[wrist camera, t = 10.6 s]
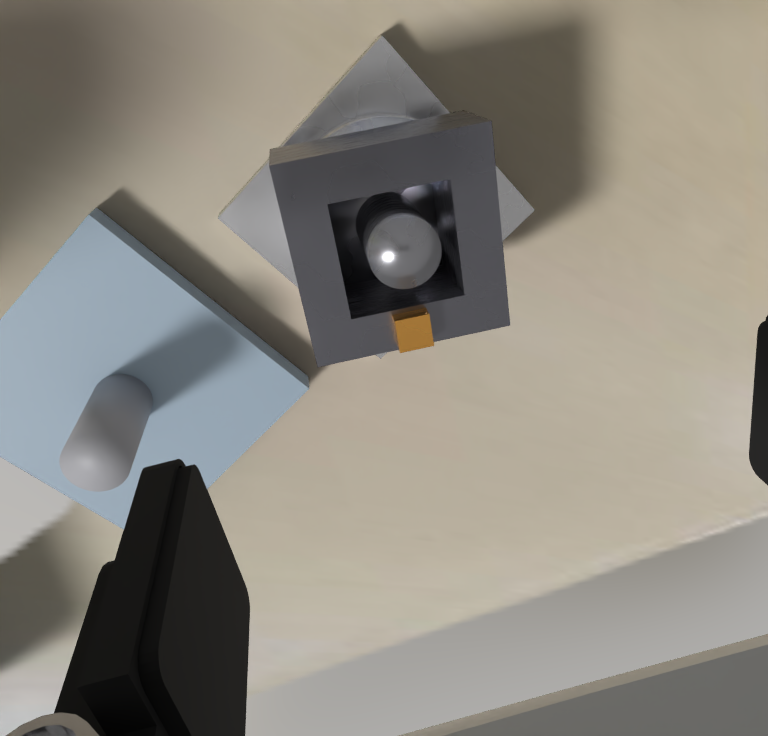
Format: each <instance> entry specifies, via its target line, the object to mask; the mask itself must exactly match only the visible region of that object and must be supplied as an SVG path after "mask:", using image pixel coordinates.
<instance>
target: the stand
mask: <svg viewBox="0 0 768 736" xmlns="http://www.w3.org/2000/svg"><path fill="white" fill-rule="evenodd" d="M308 389H309V381H308V376H307V375H306V374H304V373H303V372H302V371H301V370H299V369H298V368H297V367H296V366H294V365H293V364H292V363H291V362H289V361H288V360H287V359H286V358H284V357H283V356H282V355H281V354H279V353H278V352H277V351H276V350H274V349H273V348H272V347H271V346H269V345H268V344H267V343H266V342H264V341H263V340H262V339H261V338H259V337H258V336H257V335H256V334H254V333H253V332H252V331H251V330H249V329H248V328H247V327H246V326H244V325H243V324H242V323H241V322H239V321H238V320H237V319H236V318H234V317H233V316H232V315H231V314H229V313H228V312H227V311H226V310H224V309H223V308H222V307H221V306H219V305H218V304H217V303H216V302H214V301H213V300H212V299H211V298H209V297H208V296H207V295H206V294H204V293H203V292H202V291H201V290H199V289H198V288H197V287H196V286H194V285H193V284H192V283H191V282H189V281H188V280H187V279H186V278H184V277H183V276H182V275H181V274H179V273H178V272H177V271H176V270H174V269H173V268H172V267H171V266H169V265H168V264H167V263H166V262H164V261H163V260H162V259H161V258H159V257H158V256H157V255H156V254H154V253H153V252H152V251H151V250H149V249H148V248H147V247H146V246H144V245H143V244H142V243H140V242H139V241H138V240H137V239H135V238H134V237H133V236H132V235H130V234H129V233H128V232H127V231H125V230H124V229H123V228H122V227H120V226H119V225H118V224H117V223H115V222H114V221H113V220H112V219H110V218H109V217H108V216H107V215H105V214H104V213H103V212H102V211H100V210H99V209H98V208H97V207H96V208H95V209H94V210H93V211H92V212H91V213H90V214H89V215H88V216H87V217H86V218H85V220H84V221H83V222H82V223H81V224H80V225H79V227H78V228H77V229H76V230H75V231H74V233H73V234H72V235H71V236H70V237H69V239H68V240H67V241H66V242H65V243H64V244H63V246H62V247H61V248H60V249H59V250H58V252H57V253H56V254H55V255H54V256H53V258H52V259H51V260H50V261H49V262H48V264H47V265H46V266H45V267H44V268H43V269H42V271H41V272H40V273H39V274H38V275H37V277H36V278H35V279H34V280H33V281H32V283H31V284H30V285H29V286H28V287H27V288H26V290H25V291H24V292H23V293H22V294H21V296H20V297H19V298H18V299H17V300H16V302H15V303H14V304H13V305H12V306H11V308H10V309H9V310H8V311H7V312H6V313H5V315H4V316H3V317H2V318H1V319H0V457H1V458H3V459H5V460H7V461H8V462H10V463H11V464H13V465H15V466H17V467H18V468H20V469H22V470H24V471H25V472H27V473H28V474H30V475H32V476H34V477H35V478H37V479H39V480H41V481H42V482H44V483H46V484H47V485H49V486H51V487H52V488H54V489H56V490H58V491H59V492H61V493H63V494H64V495H66V496H68V497H69V498H71V499H73V500H74V501H76V502H78V503H80V504H81V505H83V506H85V507H86V508H88V509H90V510H91V511H93V512H95V513H97V514H98V515H100V516H102V517H103V518H105V519H107V520H109V521H110V522H112V523H114V524H115V525H117V526H119V527H120V528H122V529H124V528H125V524H126V521H127V518H128V514H129V511H130V508H131V504H132V501H133V498H134V494H135V491H136V488H137V484H138V481H139V478H140V474H141V472H142V470H143V468H145V467H148V466H152V465H156V464H160V463H164V462H168V461H172V460H176V459H181V460H182V461H183V462H184V464H185V465H186V466H189V465H193V464H195V465H196V466H197V467H198V469H199V471H200V473H201V476H202V478H203V481H204V483H205V486H206V488H209V487H210V486H211V485H212V484H213V483H214V482H215V481H216V480H217V479H218V478H219V477H220V476H221V475H222V474H223V473H224V472H225V471H226V470H227V469H228V468H229V467H230V466H231V465H232V464H233V463H234V462H235V461H236V460H237V459H238V458H239V457H240V456H241V455H242V454H243V453H244V452H245V451H246V450H247V449H248V448H249V447H250V446H251V445H252V444H253V443H254V442H255V441H256V440H257V439H258V438H259V437H260V436H261V435H263V434H264V433H265V432H266V431H267V430H268V429H269V428H270V427H271V426H272V425H273V424H274V423H275V422H276V421H277V420H278V419H279V418H280V417H281V416H282V415H283V414H284V413H285V412H286V411H287V410H288V409H289V408H290V407H291V406H292V405H293V404H294V403H295V402H296V401H297V400H298V399H299V398H300V397H301V396H302V395H303V394H304V393H305V392H306V391H307V390H308Z"/></svg>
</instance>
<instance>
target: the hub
mask: <svg viewBox="0 0 768 736" xmlns="http://www.w3.org/2000/svg"><path fill="white" fill-rule="evenodd" d="M448 113H450V112H449V111H448V110H447V109H446V108H445V107H444V105H443V104H442V103H441V102H440V101H439V100H438V99H437V97H436V96H435V95H434V94H433V93H432V92H431V91H430V89H429V88H428V87H427V86H426V85H425V84H424V83H423V81H422V80H421V79H420V78H419V77H418V76H417V75H416V73H415V72H414V71H413V70H412V69H411V68H410V67H409V65H408V64H407V63H406V62H405V61H404V60H403V59H402V57H401V56H400V55H399V54H398V53H397V52H396V51H395V49H394V48H393V47H392V46H391V45H390V44H389V43H388V41H387V40H386V39H385V38H384V37H383V36H379V37H378V38H377V39H376V40H375V41H374V42H373V43H372V44H371V45H370V47H369V48H368V49H367V50H366V51H365V52H364V53H363V54H362V55H361V57H360V58H359V59H358V60H357V61H356V62H355V63H354V64H353V65H352V67H351V68H350V69H349V70H348V71H347V72H346V73H345V74H344V75H343V77H342V78H341V79H340V80H339V81H338V82H337V83H336V84H335V86H334V87H333V88H332V89H331V90H330V91H329V92H328V93H327V94H326V96H325V97H324V98H323V99H322V100H321V101H320V102H319V103H318V104H317V106H316V107H315V108H314V109H313V110H312V111H311V112H310V113H309V114H308V116H307V117H306V118H305V119H304V120H303V121H302V122H301V123H300V124H299V126H298V127H297V128H296V129H295V130H294V131H293V132H292V133H291V134H290V136H289V137H288V138H287V139H286V140H285V141H284V142H283V143H282V144H281V146H280V147H283V146H288V145H293V144H298V143H303V142H308V141H313V140H318V139H323V138H328V137H333V136H338V135H343V134H348V133H353V132H358V131H363V130H368V129H373V128H378V127H383V126H388V125H393V124H398V123H403V122H408V121H413V120H418V119H423V118H428V117H433V116H438V115H443V114H448ZM496 176H497V187H498V198H499V209H500V220H501V231H502V241H503V240H504V239H505V238H506V237H508V236H509V235H510V234H511V233H512V232H513V231H514V230H515V229H516V228H517V227H518V226H519V225H520V224H521V223H522V222H523V221H524V220H525V219H526V218H527V217H528V216H529V215H530V214H531V213H532V212H533V211H535V210H534V208H533V207H532V206H531V205H530V204H529V203H528V202H527V200H526V199H525V198H524V197H523V196H522V195H521V194H520V192H519V191H518V190H517V189H516V188H515V187H514V185H513V184H512V183H511V182H510V181H509V180H508V179H507V177H506V176H505V175H504V174H503V173H502V172H501V171H500V169H499V168H498V167H497V166H496ZM327 205H328V210H329V215H330V219H331V224H332V229H333V234H334V239H335V243H336V248H337V253H338V258H339V263H340V267H341V272H342V277H343V282H344V286H346V285H351V284H355V283H360V282H365V281H369V280H374V279H379V280H380V281H381V282H382V283H384V284H385V285H387V286H390V287H392V288H397V289H410V288H414V287H417V286H419V285H421V284H423V283H424V282H426V281H427V280H428V279H429V278H430V277H431V276H432V275H433V274H434V273H435V271H436V270H437V268H438V266H440V265H442V258H441V253H442V250H441V242H440V239H439V236H438V229H437V221H436V214H435V207H434V199H433V192H432V184H431V183H429V184H424V185H419V186H414V187H410V188H405V189H400V190H395V191H390V192H385V193H380V194H375V195H371V196H366V197H361V198H356V199H351V200H346V201H341V202H336V203H332V204H327ZM218 219H219V220H220V221H222V222H223V223H224V224H225V225H226V226H227V227H229V228H230V229H231V230H232V231H233V232H234V233H236V234H237V235H238V236H239V237H240V238H241V239H242V240H244V241H245V242H246V243H247V244H248V245H249V246H251V247H252V248H253V249H254V250H255V251H256V252H258V253H259V254H260V255H261V256H262V257H263V258H264V259H266V260H267V261H268V262H269V263H270V264H271V265H273V266H274V267H275V268H276V269H277V270H278V271H280V272H281V273H282V274H283V275H284V276H285V277H286V278H288V279H289V280H290V281H291V282H292V283H293V284H295V285H296V286H297V287H298V284H297V280H296V275H295V271H294V267H293V263H292V259H291V255H290V251H289V247H288V243H287V238H286V234H285V230H284V226H283V222H282V218H281V214H280V210H279V205H278V201H277V197H276V193H275V189H274V185H273V181H272V177H271V172H270V168H269V159H268V160H267V161H266V162H265V163H264V164H263V166H262V167H261V168H260V169H259V170H258V171H257V172H256V173H255V174H254V176H253V177H252V178H251V179H250V180H249V181H248V182H247V183H246V185H245V186H244V187H243V188H242V189H241V190H240V191H239V192H238V193H237V195H236V196H235V197H234V198H233V199H232V200H231V201H230V202H229V203H228V205H227V206H226V207H225V208H224V209H223V210H222V211H221V212H220V213H219V216H218ZM386 353H387V352H385V353H381V354H376V355H377V356H378V357H379V358H380V359H381V358H382V357H383V356H384V355H385V354H386Z"/></svg>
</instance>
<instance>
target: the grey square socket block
mask: <svg viewBox="0 0 768 736" xmlns="http://www.w3.org/2000/svg"><path fill="white" fill-rule="evenodd" d="M269 168H270V172H271V177H272V181H273V185H274V189H275V193H276V197H277V201H278V205H279V210H280V214H281V218H282V222H283V226H284V230H285V234H286V238H287V243H288V247H289V251H290V255H291V259H292V263H293V267H294V271H295V275H296V280H297V284H298V288H299V292H300V296H301V300H302V304H303V308H304V313H305V317H306V321H307V325H308V329H309V333H310V337H311V341H312V346H313V350H314V354H315V358H316V362H317V366H318V367H321V366H326V365H330V364H335V363H339V362H344V361H349V360H353V359H358V358H362V357H367V356H371V355H376V354H381V353H385V352H390V351H394V350H399V351H400V353H402V352H407V351H412V350H416V349H421V348H425V347H430V346H434V342H436V341H440V340H445V339H450V338H454V337H459V336H463V335H468V334H473V333H477V332H482V331H486V330H491V329H496V328H500V327H505V326H509V325H510V319H509V308H508V297H507V286H506V275H505V264H504V253H503V242H502V231H501V220H500V209H499V198H498V187H497V176H496V165H495V154H494V143H493V132H492V121H491V120H488V119H485V118H483V117H480V116H477V115H475V114H472V113H469V112H467V111H464V110H463V111H458V112H453V113H448V114H443V115H438V116H433V117H428V118H423V119H418V120H413V121H408V122H403V123H398V124H393V125H388V126H383V127H378V128H373V129H368V130H363V131H358V132H353V133H348V134H343V135H338V136H333V137H328V138H323V139H318V140H313V141H308V142H303V143H298V144H293V145H288V146H283V147H278V148H273V149H270V156H269ZM429 183H431V184H432V192H433V199H434V207H435V214H436V221H437V229H438V236H439V239H440V242H441V250H442V253H441V258H442V265H440V266H438V268H437V270H436V271H435V273H434V274H433V275H432V276H431V277H430V278H429V279H428V280H427V281H426V282H424V283H423V284H421V285H419V286H417V287H414V288H410V289H397V288H392V287H390V286H387V285H385V284H384V283H382V282H381V281H380V280H379V279H374V280H369V281H365V282H360V283H355V284H351V285H346V286H344V282H343V277H342V272H341V267H340V263H339V258H338V253H337V248H336V243H335V239H334V234H333V229H332V224H331V219H330V215H329V210H328V205H327V204H332V203H336V202H341V201H346V200H351V199H356V198H361V197H366V196H371V195H375V194H380V193H385V192H390V191H395V190H400V189H405V188H410V187H414V186H419V185H424V184H429Z"/></svg>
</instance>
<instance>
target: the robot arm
mask: <svg viewBox="0 0 768 736" xmlns="http://www.w3.org/2000/svg"><path fill="white" fill-rule="evenodd" d="M749 459H750V463H751V466H752V468H753V470H754V472H755V473H756V475H757V476H758V477H759V478H760V479H761V480H762V481H764V482H765V483H766V484H767V485H768V316H767V317H766V321H764V322H762V323H761V324H760V326H759V328H758V334H757V348H756V362H755V377H754V391H753V405H752V419H751V433H750V448H749ZM249 620H250V603H249V596H248V592H247V588H246V585H245V582H244V580H243V578H242V575H241V573H240V570H239V568H238V565H237V563H236V560H235V558H234V555H233V553H232V550H231V548H230V545H229V543H228V540H227V538H226V535H225V533H224V530H223V528H222V525H221V523H220V520H219V518H218V515H217V513H216V510H215V508H214V505H213V503H212V500H211V498H210V496H209V493H208V491H207V488H206V486H205V483H204V481H203V478H202V476H201V473H200V471H199V469H198V467H197V466H196V465H195V464H193V465H189V466H186V465H185V464H184V462H183V461H182V460H181V459H176V460H172V461H168V462H164V463H160V464H156V465H152V466H148V467H145V468H143V470H142V472H141V474H140V478H139V481H138V484H137V488H136V491H135V494H134V498H133V501H132V504H131V508H130V511H129V514H128V518H127V521H126V524H125V528H124V531H123V534H122V538H121V541H120V544H119V548H118V551H117V554H116V558H115V561H111V562H107V563H106V564H105V565H104V566H103V567H102V569H101V571H100V573H99V575H98V578H97V581H96V585H95V588H94V591H93V594H92V597H91V600H90V603H89V606H88V609H87V612H86V616H85V619H84V622H83V625H82V628H81V631H80V634H79V637H78V640H77V643H76V647H75V650H74V653H73V656H72V659H71V662H70V665H69V668H68V671H67V675H66V678H65V681H64V684H63V687H62V690H61V693H60V696H59V699H58V702H57V706H56V709H55V712H54V714H49V715H44V716H41V717H38V718H36V719H34V720H32V721H29V722H27V723H25V724H23V725H21V726H19V727H18V728H16V729H15V730H14V731H12V732H11V733H9V734H8V735H6V736H245V723H246V698H247V672H248V646H249ZM399 736H768V634H766V635H762V636H758V637H755V638H751V639H747V640H744V641H740V642H736V643H733V644H729V645H725V646H722V647H718V648H715V649H711V650H707V651H703V652H699V653H696V654H692V655H689V656H685V657H681V658H677V659H674V660H670V661H667V662H663V663H659V664H655V665H652V666H648V667H645V668H641V669H638V670H634V671H630V672H626V673H623V674H619V675H616V676H612V677H608V678H605V679H601V680H597V681H593V682H590V683H586V684H582V685H579V686H575V687H572V688H568V689H564V690H561V691H557V692H554V693H550V694H547V695H543V696H539V697H536V698H532V699H529V700H525V701H522V702H518V703H514V704H511V705H507V706H504V707H500V708H497V709H493V710H489V711H485V712H482V713H479V714H475V715H471V716H467V717H464V718H460V719H457V720H453V721H450V722H446V723H442V724H439V725H435V726H431V727H428V728H424V729H421V730H417V731H414V732H410V733H406V734H403V735H399Z"/></svg>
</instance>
